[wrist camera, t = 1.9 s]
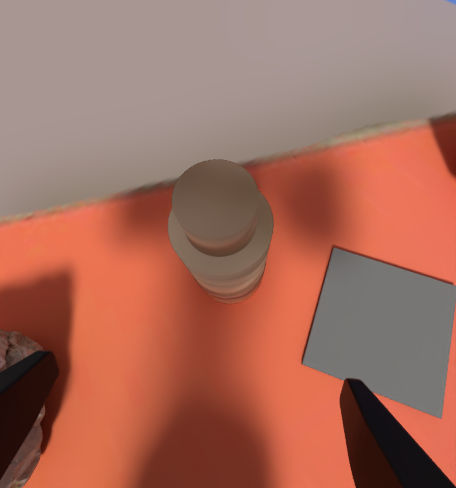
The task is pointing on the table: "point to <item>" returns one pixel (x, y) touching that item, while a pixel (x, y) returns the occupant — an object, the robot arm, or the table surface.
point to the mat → (384, 330)
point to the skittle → (221, 229)
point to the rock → (24, 463)
